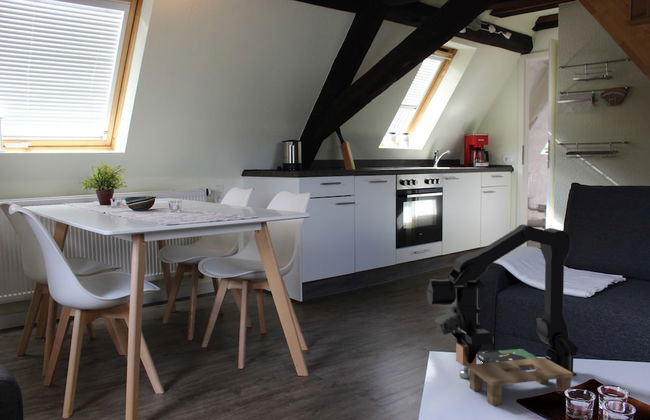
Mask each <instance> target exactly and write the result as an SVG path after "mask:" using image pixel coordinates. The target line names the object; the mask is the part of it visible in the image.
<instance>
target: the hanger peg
mask: <svg viewBox="0 0 650 420" xmlns="http://www.w3.org/2000/svg"><path fill="white" fill-rule="evenodd" d="M455 346H456V347H455V353H456V354H455V360H456V362H457V363H459V364H460V365H461V366H463V368H462V369H460V370H459V378H460V377H461V378H460V379H464V380H470V370H469V369H468V365H472V364H478V362H477V360H478V359H477V355H476V357H475V359H474V361H473V362H472V363H468V360H467V352H466V345H465V343H464V342H460V343H456V342H455Z"/></svg>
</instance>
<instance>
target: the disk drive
mask: <svg viewBox="0 0 650 420" xmlns="http://www.w3.org/2000/svg"><path fill="white" fill-rule="evenodd" d="M477 358H478V359H479V360H480V361H479V360H478V359H477V360H478V361H479V362H481V361H482V362H483V363H492V362H502V361H512V360H523V359H533V358H538V357H537V355H534V354H533V353H530V352H529V351H526V350H525V349H524V348H518V349H517V348H512V349H511V348H510V349H509V348H508V349H499V350H497V349H495V350H483V351H482V350H481V351H480V350H479V351H478V353H477ZM482 362H481V363H482Z"/></svg>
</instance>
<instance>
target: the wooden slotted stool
mask: <svg viewBox="0 0 650 420" xmlns="http://www.w3.org/2000/svg"><path fill="white" fill-rule="evenodd" d="M526 369H533V370H530V371H529V370H528V371H527V370H526ZM468 370H470V379H469V388H470V390H472V391H473V392H479V391H484V384H483V383H484V382H486V383H487V384H486V385H487V387H486V388H487V390H486V391H487V393H486V396H487V397H486V399H487V400H486V402H487V403H488V404H489V405H491V406H499V405H502V388H503V387H502V385H503V386H504V385H512V384H522V383H531V382H537V383H538V384H540V385H541V384H543V385H544V384H549V382H550V381H549V380H555V381H556V382H555V392H556V391H564V390H565V389H568V388H571V389H572V387H571V385H572V384H571V383H572V378H573V377H574V376H573V373H572V372H570V371H568V370H566V369H564V368H563V367H561V366H559V365H557V364H555V363H553V362H552V361H550V360H548V359H546V358H545V357H537V358H533V359H523V360H512V361H502V362H492V363H482V362H481V363H477V364H472V365H468Z"/></svg>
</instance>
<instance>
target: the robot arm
mask: <svg viewBox="0 0 650 420" xmlns="http://www.w3.org/2000/svg"><path fill="white" fill-rule="evenodd" d="M529 241H531V242H534V243H538V244H539V245H540V251H541V254H542V256H543V259H544V261H545V264H544V265H545V268H544V270H545V271H544V272H545V274H544V278H545V279H544V313H543V315H542V316H541V317H536V321H535V322H536V329H535V333H537V335H538V338H539V339H540V340H541V341H542V342H543V343H544V344H543V345H544V346H545V347H546V348H548V349H546V355H545V357H544V358H546V359H548V360H550V361H552V362H553V363H555V364H557V365H559V366H561V367H563V368H564V369H566V370H568V371H570V372H572V373H573V377H574V376H578V375H577V372H576V371H574V356H577V352H578V350H579V347H578V346H577V345H575V344H574V342H572V340H570V334H569V328H568V324H567V322H566V319H565V317H564V285H565V282H564V281H565V277H564V276H565V262H566V260H567V258H568V256H569V255H570V250H571V244H572V237H571V235H570V234H568V232H567V231H565V230H561V229H558V228H557V229H556V228H553V227H549V228H545V229H541V228H536V227H533V226H531V225H528V224H525V223H524V224H519V225H518V226H517V227H516V228H514V229H513V230H512V231H509V232H508V233H506V234H505V235H503V236H501V237H500V238H498V239H496V240H495V241H493V242H491V243H490V244H488V245H487V246H485V247H483V248H481V249H479V250H477V251H472V252H469V253H466V254H464V255H461V256H459V257H457V258H456V259H455V261H454V264H453V268H452V269H451V270H450V272H449V273H448V275H447V276H446V278H445V279H434V278H432V279H429V283H428V286H427V289H426V298H427V302H428V305H429V306H443V305H444V306H445V305H452V304H453V303H455V305H453V306H452V307H451V312H449V313H446V314H444V315H442V316H439V317H438V318H435V319H434V323H435V326H436V329H437V331H438V332H440V333H441V334H442V335H448V334H450V335H451V336H452V337H453V338H454V340H455V344H456V343H460V342H464V343H465V345H466V352H467V360H468V363H472V362H473V361H474V359H475V357H476V355H477V353H478V352H480V349H481V347H482V346H483V345H490V344H494V343H495V342H494V340H495V339H494V335H493V334H492V333H491V332H490V331H488V330H486V329H485V328H481V322H480V323H479V322H478V320H479V319H478V317H479V314H480V313H482V312H481V311H482V309H481V308H480V307H479V300H478V299H479V289H483V288H484V289H485V288H486V287H487V285H486V284H484V283H483V282H482V280H481V279H480V277H481V276H482V275H483V274H485V272H486V271H487V270H488V268H489V267H490V266H491V265H492V264H493V263H494V262H496V261H498V260H499V259H501V258H503V257H505V256H506V255H508V254H509V253H511V252H513V251H514V250H516V249H517V248H519V247H520V246H523V245H524V244H526V243H527V242H529Z"/></svg>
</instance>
